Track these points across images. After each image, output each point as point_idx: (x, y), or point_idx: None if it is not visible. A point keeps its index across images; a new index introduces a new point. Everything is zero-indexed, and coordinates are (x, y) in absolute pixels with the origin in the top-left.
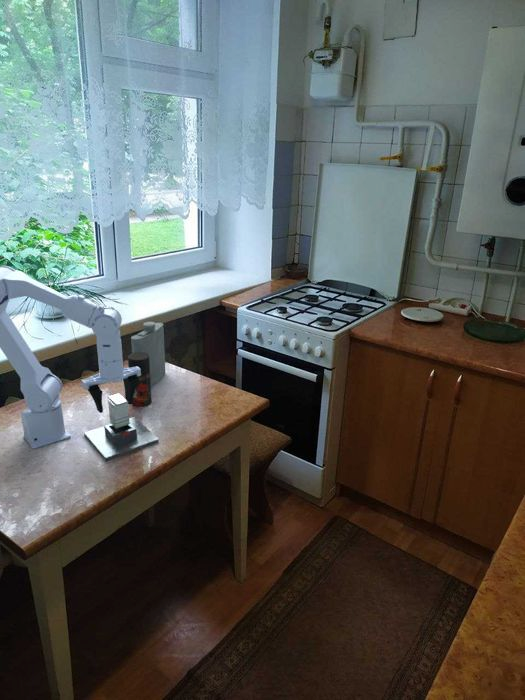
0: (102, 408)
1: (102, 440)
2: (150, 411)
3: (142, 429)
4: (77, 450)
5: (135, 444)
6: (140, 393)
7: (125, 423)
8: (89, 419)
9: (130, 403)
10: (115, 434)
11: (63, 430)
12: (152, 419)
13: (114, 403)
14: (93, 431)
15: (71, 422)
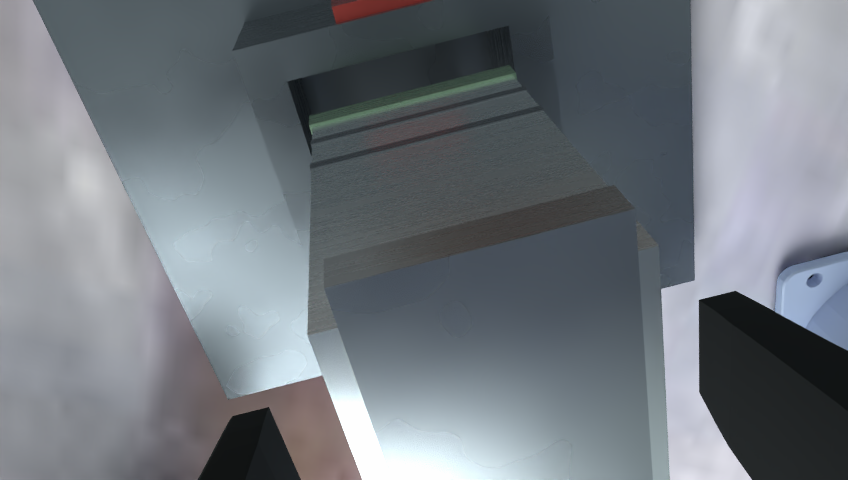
0: (750, 329)
1: (598, 94)
2: (75, 463)
3: (167, 161)
4: (811, 55)
5: None
6: None
7: (372, 111)
8: None
9: (245, 420)
10: (514, 10)
11: (843, 331)
12: (59, 345)
13: (630, 312)
14: None
15: (693, 452)
